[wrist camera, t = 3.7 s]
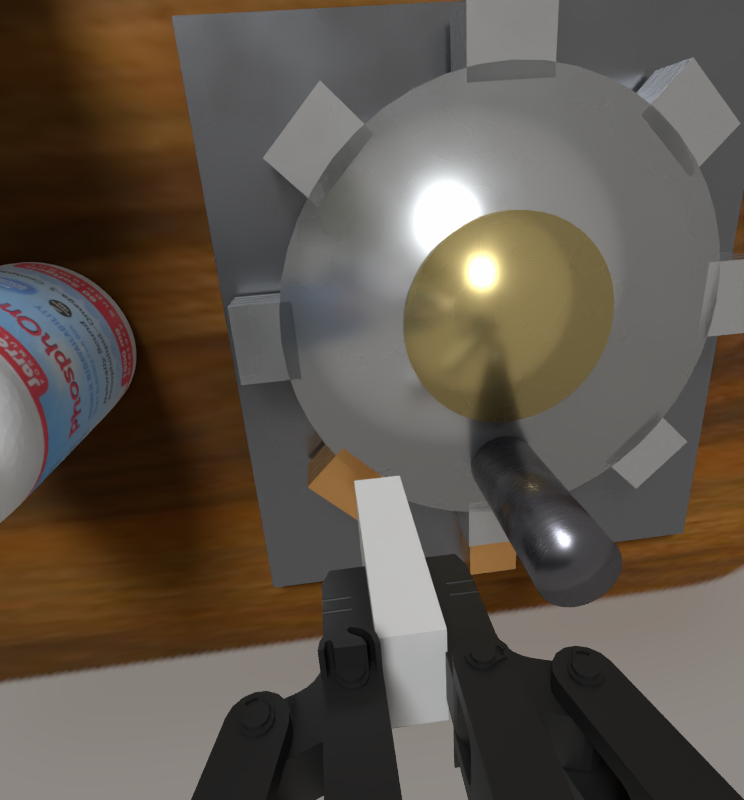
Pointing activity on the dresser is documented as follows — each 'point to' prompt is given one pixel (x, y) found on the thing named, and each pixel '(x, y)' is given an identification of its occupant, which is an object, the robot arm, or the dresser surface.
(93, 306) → the pill bottle
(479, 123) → the sprocket
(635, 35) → the base plate
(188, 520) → the dresser surface
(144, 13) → the dresser surface
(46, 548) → the dresser surface
